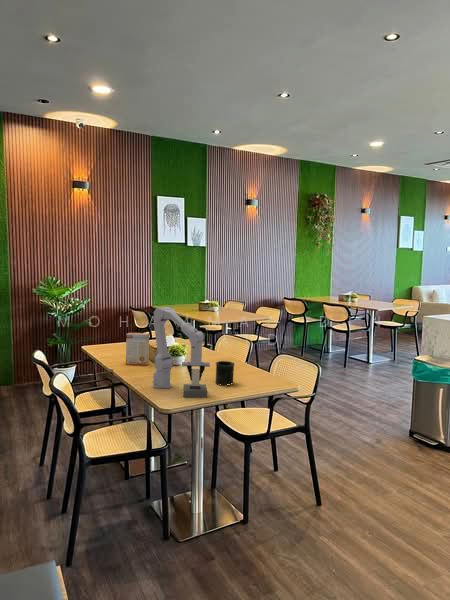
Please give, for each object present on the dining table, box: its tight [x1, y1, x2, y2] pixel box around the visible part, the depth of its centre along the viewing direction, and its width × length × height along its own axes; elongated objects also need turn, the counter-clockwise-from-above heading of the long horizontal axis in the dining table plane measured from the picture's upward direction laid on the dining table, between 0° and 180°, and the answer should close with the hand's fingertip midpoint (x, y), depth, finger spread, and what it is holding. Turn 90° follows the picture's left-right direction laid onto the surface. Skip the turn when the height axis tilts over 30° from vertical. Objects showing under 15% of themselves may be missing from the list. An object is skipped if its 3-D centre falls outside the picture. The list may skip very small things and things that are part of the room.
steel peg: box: [190, 368, 200, 386], centre depth 237 cm, size 4×4×8 cm
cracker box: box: [125, 332, 150, 367], centre depth 297 cm, size 14×6×21 cm, turn 84°
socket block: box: [183, 383, 208, 398], centre depth 238 cm, size 12×12×4 cm
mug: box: [215, 360, 235, 386], centre depth 261 cm, size 11×15×12 cm
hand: (195, 379), depth 237 cm, fingers closed on steel peg, 4 cm apart
